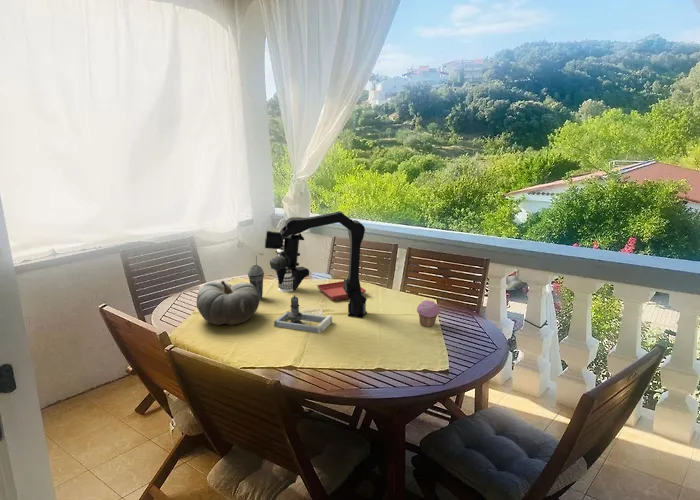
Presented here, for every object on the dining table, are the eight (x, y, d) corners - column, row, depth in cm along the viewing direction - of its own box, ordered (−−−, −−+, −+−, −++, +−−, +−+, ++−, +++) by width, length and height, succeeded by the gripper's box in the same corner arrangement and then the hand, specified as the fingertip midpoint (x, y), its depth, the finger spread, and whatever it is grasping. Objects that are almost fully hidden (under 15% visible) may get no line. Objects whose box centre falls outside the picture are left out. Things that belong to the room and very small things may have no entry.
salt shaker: (288, 320, 201) (287, 292, 198) (302, 319, 201) (301, 292, 198) (287, 326, 195) (286, 297, 192) (302, 325, 196) (301, 297, 192)
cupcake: (425, 319, 202) (426, 296, 199) (443, 325, 196) (444, 301, 193) (412, 325, 196) (412, 301, 193) (429, 331, 190) (430, 307, 187)
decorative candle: (295, 292, 234) (293, 241, 228) (276, 292, 234) (273, 241, 228) (297, 286, 243) (296, 236, 236) (278, 286, 243) (276, 236, 237)
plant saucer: (316, 291, 236) (316, 284, 235) (350, 286, 244) (350, 279, 243) (331, 303, 220) (330, 296, 220) (366, 297, 228) (366, 290, 227)
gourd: (191, 306, 209) (195, 268, 204) (249, 307, 219) (255, 271, 215) (198, 334, 187) (203, 293, 182) (262, 334, 198) (268, 294, 193)
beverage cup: (246, 299, 224) (243, 257, 219) (254, 294, 231) (252, 253, 226) (259, 301, 222) (257, 259, 217) (268, 296, 228) (266, 255, 223)
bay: (331, 322, 199) (331, 315, 198) (320, 333, 188) (320, 325, 188) (287, 315, 205) (287, 309, 205) (274, 326, 195) (273, 319, 194)
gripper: (260, 245, 195) (257, 283, 198) (288, 257, 182) (284, 297, 185) (283, 243, 202) (279, 280, 206) (311, 255, 190) (307, 293, 193)
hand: (287, 287), depth 197 cm, fingers open, 9 cm apart
